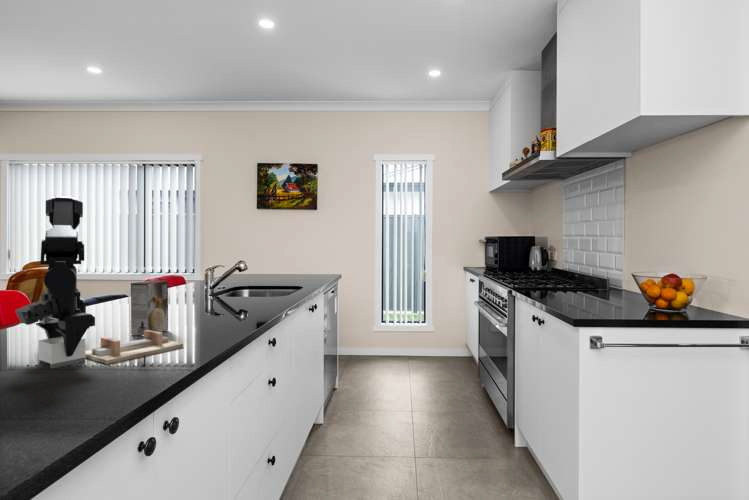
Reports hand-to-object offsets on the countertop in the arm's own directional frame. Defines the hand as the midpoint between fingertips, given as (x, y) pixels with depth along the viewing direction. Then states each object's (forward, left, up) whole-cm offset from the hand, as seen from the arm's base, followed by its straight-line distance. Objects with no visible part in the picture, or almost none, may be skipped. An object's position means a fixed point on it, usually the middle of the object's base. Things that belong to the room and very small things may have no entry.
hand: (62, 354), depth 104 cm
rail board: (+3, +15, -2) cm, 15 cm away
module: (0, 0, -2) cm, 2 cm away
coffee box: (-14, +30, -2) cm, 33 cm away
